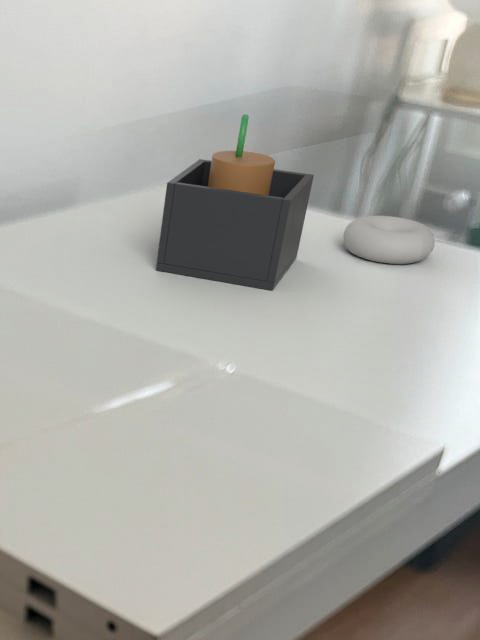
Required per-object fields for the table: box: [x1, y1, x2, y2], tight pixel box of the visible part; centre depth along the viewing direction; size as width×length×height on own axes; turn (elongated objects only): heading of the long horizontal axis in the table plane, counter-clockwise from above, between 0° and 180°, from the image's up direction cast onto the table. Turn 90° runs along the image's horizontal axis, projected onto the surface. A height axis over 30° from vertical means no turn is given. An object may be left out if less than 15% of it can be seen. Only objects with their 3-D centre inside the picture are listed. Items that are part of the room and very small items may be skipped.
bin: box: [155, 158, 315, 291], centre depth 110 cm, size 13×13×9 cm
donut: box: [343, 215, 436, 265], centre depth 117 cm, size 10×4×10 cm
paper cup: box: [208, 113, 276, 196], centre depth 108 cm, size 6×6×14 cm
